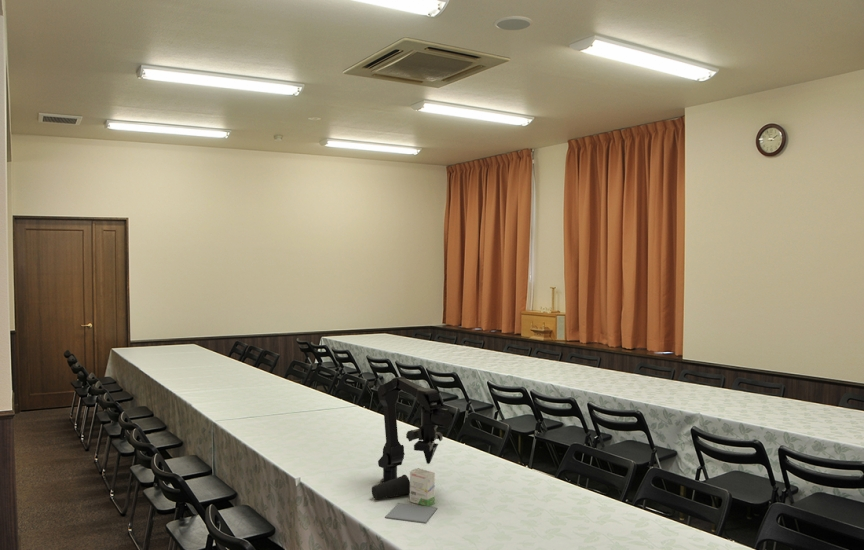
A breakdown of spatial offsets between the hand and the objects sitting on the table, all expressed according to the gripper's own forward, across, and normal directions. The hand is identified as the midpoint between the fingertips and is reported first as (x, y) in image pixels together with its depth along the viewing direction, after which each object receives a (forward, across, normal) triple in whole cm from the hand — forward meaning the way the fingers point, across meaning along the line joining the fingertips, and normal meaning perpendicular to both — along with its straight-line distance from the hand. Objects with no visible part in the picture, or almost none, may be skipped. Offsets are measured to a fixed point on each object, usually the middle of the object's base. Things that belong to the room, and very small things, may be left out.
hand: (428, 463), depth 244 cm
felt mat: (+12, +18, 0) cm, 22 cm away
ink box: (+13, +7, 0) cm, 15 cm away
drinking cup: (+10, +10, -18) cm, 23 cm away
